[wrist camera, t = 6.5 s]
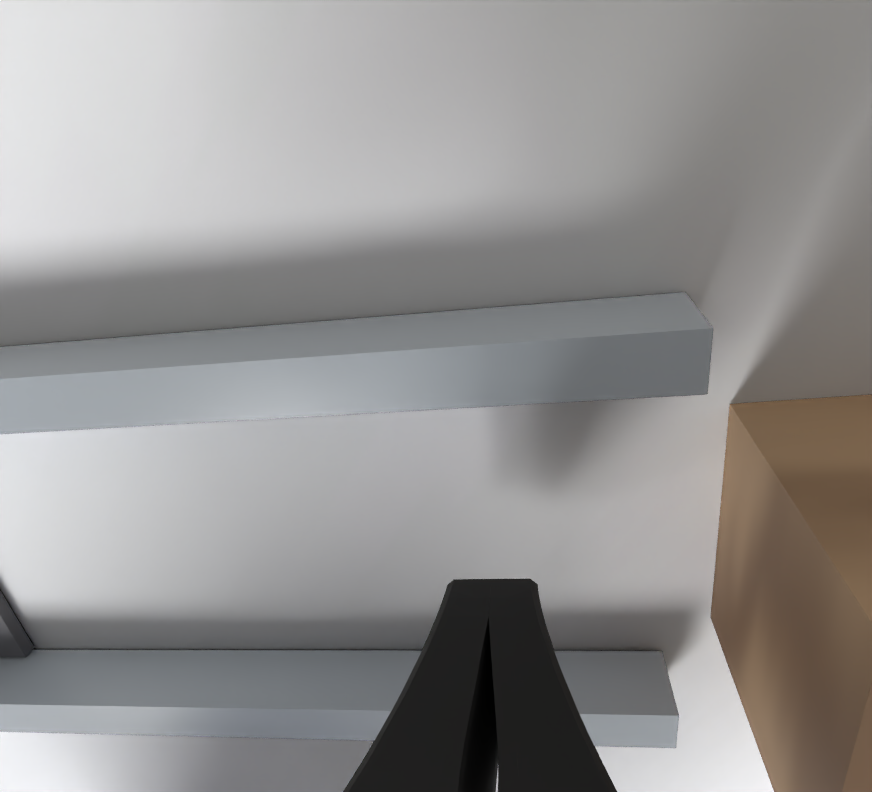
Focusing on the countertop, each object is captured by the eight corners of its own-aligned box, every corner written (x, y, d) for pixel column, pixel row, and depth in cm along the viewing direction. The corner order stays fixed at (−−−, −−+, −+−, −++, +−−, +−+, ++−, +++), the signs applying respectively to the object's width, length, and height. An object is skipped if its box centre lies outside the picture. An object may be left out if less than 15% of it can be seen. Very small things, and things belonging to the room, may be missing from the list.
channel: (659, 682, 14) (675, 748, 12) (-115, 675, 17) (-169, 727, 15) (685, 291, 10) (713, 328, 8) (-349, 374, 13) (-449, 410, 11)
